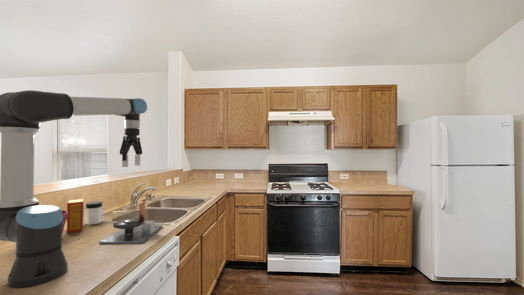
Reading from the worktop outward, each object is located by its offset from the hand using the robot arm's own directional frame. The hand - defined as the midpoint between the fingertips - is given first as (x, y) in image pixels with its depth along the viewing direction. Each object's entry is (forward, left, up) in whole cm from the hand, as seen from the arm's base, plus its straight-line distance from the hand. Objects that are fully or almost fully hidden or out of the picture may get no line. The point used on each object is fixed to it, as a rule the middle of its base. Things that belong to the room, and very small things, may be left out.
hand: (131, 166), depth 133 cm
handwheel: (-8, -4, -33) cm, 35 cm away
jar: (+12, +28, -35) cm, 46 cm away
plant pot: (-16, +31, -35) cm, 49 cm away
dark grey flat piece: (-10, -6, -35) cm, 37 cm away
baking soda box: (0, +30, -35) cm, 46 cm away
